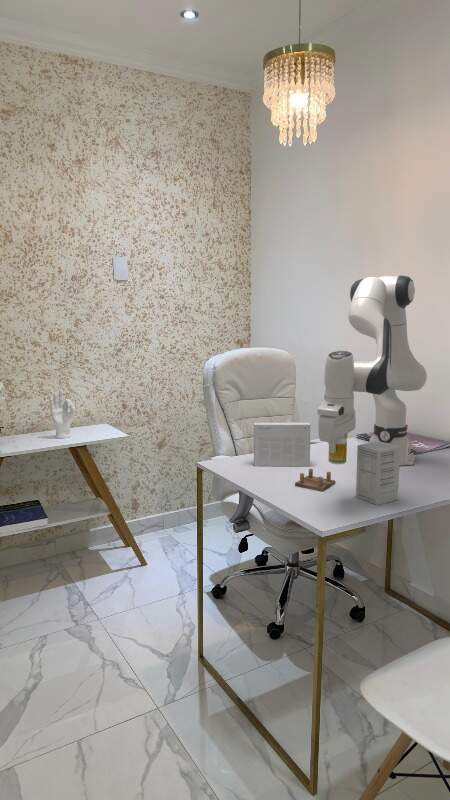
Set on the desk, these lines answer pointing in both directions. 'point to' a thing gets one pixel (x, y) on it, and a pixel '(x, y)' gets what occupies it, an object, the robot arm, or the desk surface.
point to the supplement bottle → (339, 451)
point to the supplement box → (377, 472)
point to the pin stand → (315, 481)
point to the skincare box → (282, 444)
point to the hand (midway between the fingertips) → (337, 449)
